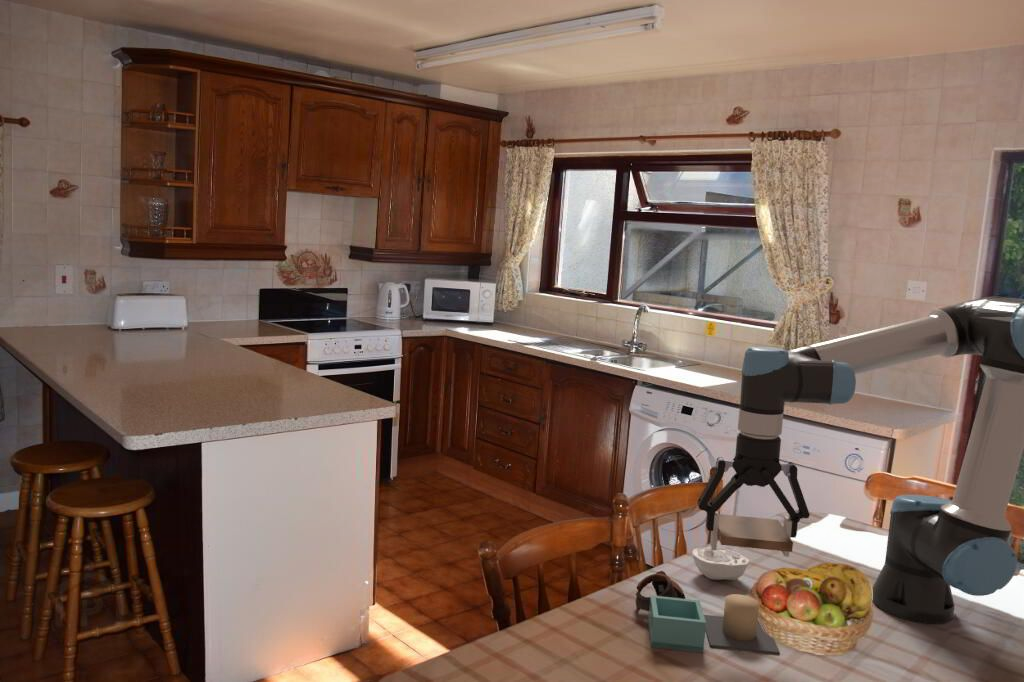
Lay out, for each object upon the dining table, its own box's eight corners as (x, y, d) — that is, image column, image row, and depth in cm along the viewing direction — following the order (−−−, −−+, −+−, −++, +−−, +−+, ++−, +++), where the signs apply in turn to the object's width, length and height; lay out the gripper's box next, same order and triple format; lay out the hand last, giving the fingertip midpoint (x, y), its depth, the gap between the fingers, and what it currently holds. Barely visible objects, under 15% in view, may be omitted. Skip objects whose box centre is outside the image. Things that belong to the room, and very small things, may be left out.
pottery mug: (694, 627, 152) (679, 593, 149) (647, 641, 154) (631, 608, 151) (686, 585, 163) (671, 553, 160) (641, 599, 165) (626, 568, 162)
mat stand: (765, 623, 154) (769, 591, 153) (779, 654, 142) (783, 619, 141) (701, 616, 155) (704, 584, 154) (710, 646, 143) (713, 612, 143)
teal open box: (697, 628, 150) (699, 600, 149) (703, 652, 141) (706, 622, 140) (647, 623, 151) (650, 595, 150) (650, 646, 142) (653, 617, 141)
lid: (776, 527, 152) (777, 519, 152) (792, 551, 140) (793, 543, 140) (711, 521, 153) (712, 513, 153) (721, 544, 141) (722, 536, 141)
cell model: (746, 592, 168) (749, 561, 167) (687, 581, 172) (690, 550, 171) (748, 574, 177) (751, 544, 176) (692, 564, 181) (695, 535, 180)
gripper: (823, 434, 147) (812, 548, 149) (687, 424, 149) (679, 537, 152) (835, 444, 139) (823, 564, 142) (692, 433, 142) (683, 552, 144)
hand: (748, 550), depth 147 cm, fingers closed on lid, 12 cm apart
